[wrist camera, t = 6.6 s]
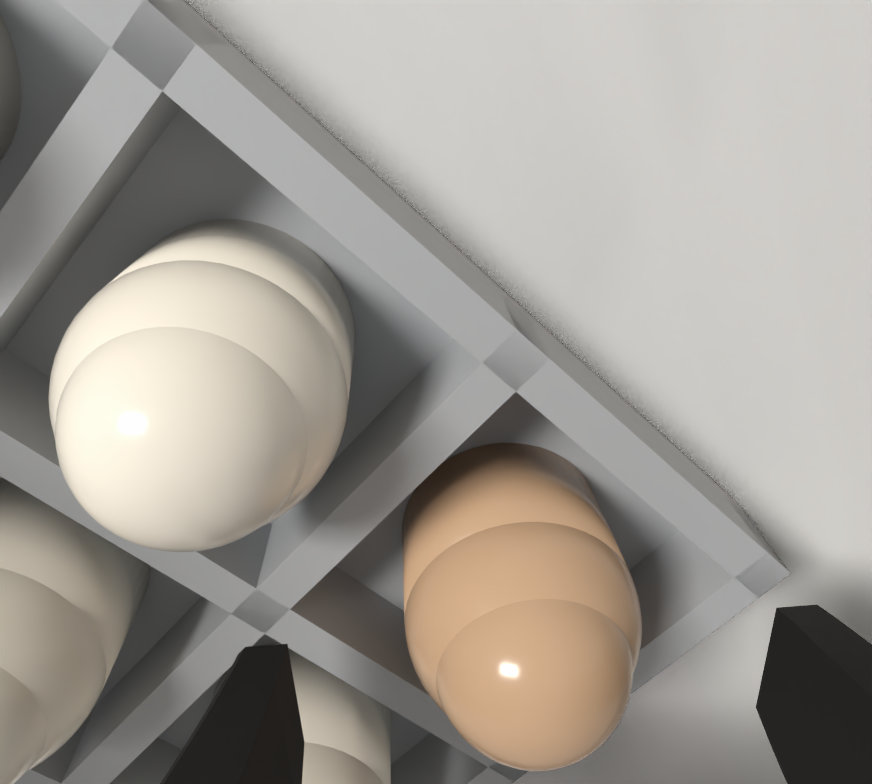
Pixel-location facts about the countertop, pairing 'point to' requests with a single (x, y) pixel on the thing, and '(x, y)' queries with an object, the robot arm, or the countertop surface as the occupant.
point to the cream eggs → (175, 466)
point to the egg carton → (368, 397)
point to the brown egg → (519, 605)
